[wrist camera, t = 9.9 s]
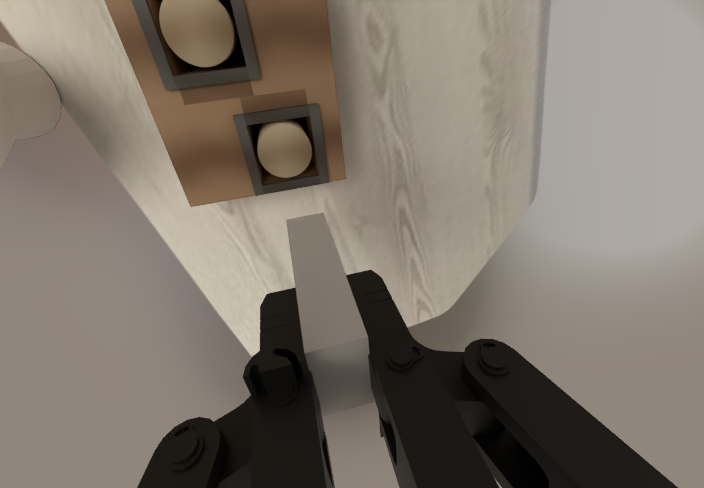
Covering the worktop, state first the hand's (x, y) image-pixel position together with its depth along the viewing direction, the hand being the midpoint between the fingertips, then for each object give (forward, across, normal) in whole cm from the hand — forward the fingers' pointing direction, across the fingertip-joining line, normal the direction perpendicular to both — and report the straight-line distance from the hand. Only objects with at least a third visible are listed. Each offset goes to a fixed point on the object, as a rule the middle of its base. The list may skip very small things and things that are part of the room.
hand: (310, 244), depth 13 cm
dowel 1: (+25, -4, +8) cm, 26 cm away
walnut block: (+25, -2, +4) cm, 25 cm away
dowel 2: (+25, 0, -1) cm, 25 cm away
